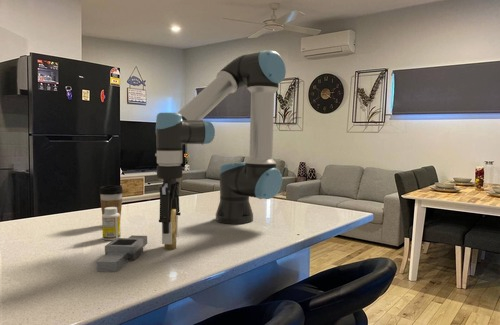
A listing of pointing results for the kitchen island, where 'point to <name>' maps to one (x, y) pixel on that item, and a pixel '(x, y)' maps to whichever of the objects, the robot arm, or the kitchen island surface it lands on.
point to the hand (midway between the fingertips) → (170, 240)
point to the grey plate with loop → (121, 252)
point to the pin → (173, 220)
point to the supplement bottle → (111, 223)
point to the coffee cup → (111, 197)
